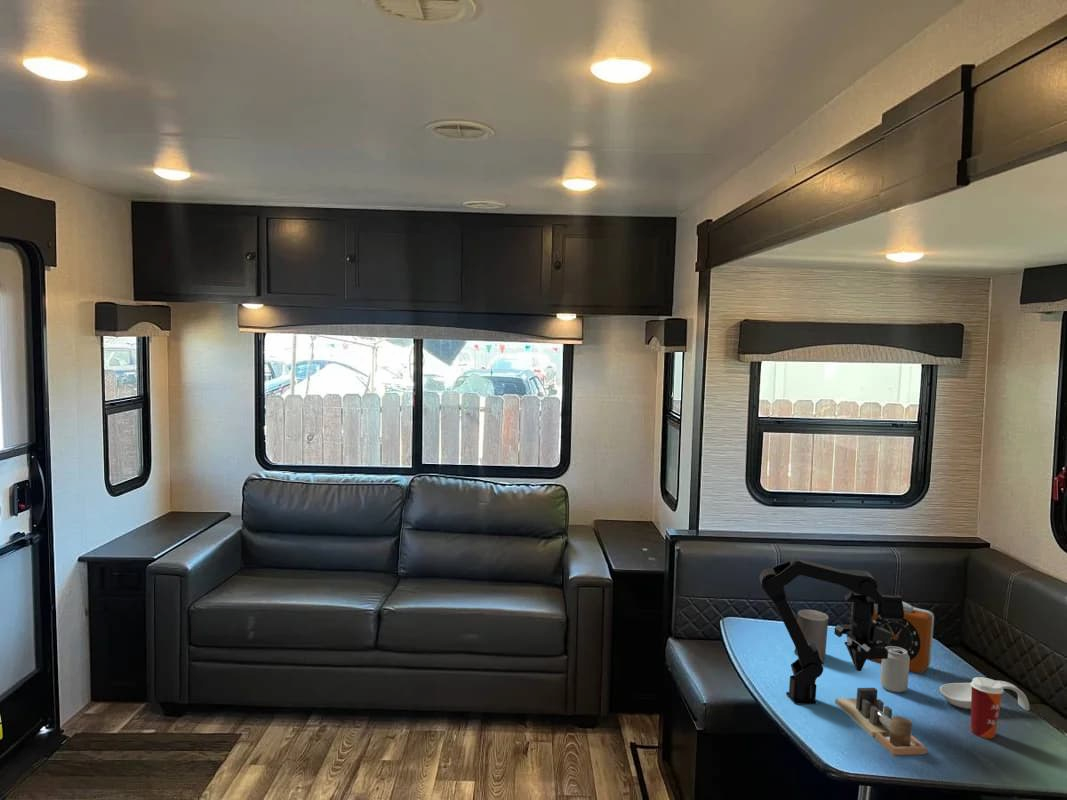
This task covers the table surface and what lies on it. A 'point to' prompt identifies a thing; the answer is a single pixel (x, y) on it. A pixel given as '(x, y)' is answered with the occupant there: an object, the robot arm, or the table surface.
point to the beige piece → (866, 715)
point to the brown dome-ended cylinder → (900, 731)
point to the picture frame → (902, 750)
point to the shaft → (871, 704)
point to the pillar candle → (814, 628)
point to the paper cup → (985, 706)
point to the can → (895, 670)
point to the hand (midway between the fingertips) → (858, 670)
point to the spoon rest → (962, 693)
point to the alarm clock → (911, 636)
